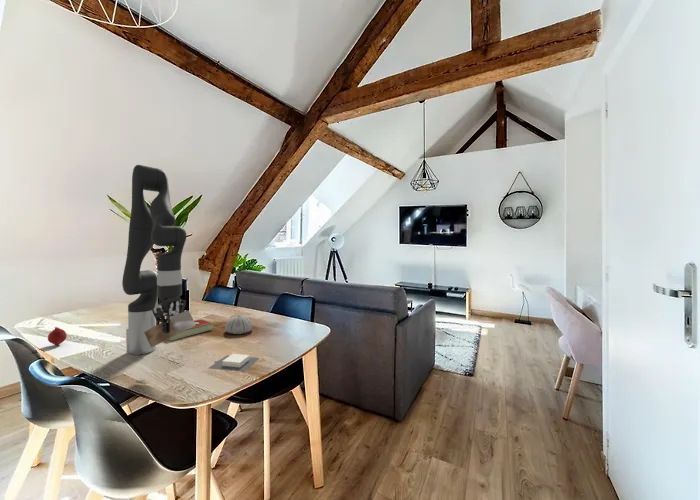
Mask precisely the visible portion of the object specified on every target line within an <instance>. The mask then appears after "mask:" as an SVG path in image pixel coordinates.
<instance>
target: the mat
mask: <svg viewBox="0 0 700 500" xmlns="http://www.w3.org/2000/svg"><path fill="white" fill-rule="evenodd" d="M229 356H230V355H228V354H227V355H225V356H224V357H222V358H221V359H219V360H218V361H217V362H215V363H214V364H212V365H211V366H209V367H208V369H213V370H223V371H232V372H233V371H235V372H241V373H242V372H243V373H245V372H246V371H247V370H248V369H249V368H251V366H253V365H254V364H255V363H256V362H258V360H259V359H260V357H252V356H250V360H249V361H247V362H246V363H245V364H244V365H242V366H241V367H229V366H222V361H223V360H224V359H226V358H227V357H229Z"/></svg>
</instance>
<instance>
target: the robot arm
mask: <svg viewBox="0 0 700 500" xmlns="http://www.w3.org/2000/svg"><path fill="white" fill-rule="evenodd" d="M131 177H132V178H131V210H130V219H129V226H128V241H127V242H128V243H127V250H126V251H127V253H126V259H125V264H124V269H123V275H122V281H121V283H122V285H121V286H122V290H123V292H124V293H125V294H126V295H128V296H135V295H139V296H138V297H136V299H135V300H133V301H131V302H130V303H129V304H128V305H127V314H128V315H127V319H128V327H127V328H126V331H125V332H126V333H125V337H126V339H125V340H126V341H125V344H126V353H127V354H129V355H133V356H139V355H145V354H149V353H152V352H153V351H155V350H156V346H157V345H156V346H153V347H151V346H150V344H149V342H148V340H147V337H146V335H145V333H144V332H145V331H147V330H149V329H151V328H153V327H154V326H156V322H157V323H162V331H163V333H167V334H168V333H170V323H169V322H170V318H169V317H171V316H173V315H176V314H180V313H183V312H185V307H186V303H187V300H184V299H181V296H183V275H182V274H183V273H182V254H183V250H184V247H185V244H186V241H187V236H188V235H187V232H186V229H185V228H184V227H182V226H178V225H177V226H176V225H175V224H176V217H175V214H174V211H173V208H172V205H171V197H170V189H169V180H168V175H167V173H166V171H165V170H163V169H162V168H157V167H152V166H147V165H143V164H136V165H134V168H133V169H132V176H131ZM144 191H148V192H149V191H150V192H158V194H157V195H156V196H155V197H154V199H152V201H151V203H150V204H149V205H150V206H149V207H148V205H147V203H146V201H145V194H144ZM154 245H155V246H156V247H173V248H172V249H171V250H170V251H168V252H162V253H159V254H158V256H157V273H155V272H154V271H153V270H150V269H148V270H141V268H142V264H143V260H144V259H145V257H146V256H147V254H149V252H150V250H152V248H153V246H154ZM158 299H159V300H158ZM157 300H158V303H157ZM156 305H157V306H156Z"/></svg>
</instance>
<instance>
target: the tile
mask: <svg viewBox="0 0 700 500" xmlns="http://www.w3.org/2000/svg"><path fill="white" fill-rule="evenodd" d="M250 357H251V356H250V355H249V354H239V353H231V355H230V356H229V357H227V358H226V359H224V360H223V361H222V366H229V367H241V366H242V365H244V364H245V363H246V362H247V361H249V360H250Z"/></svg>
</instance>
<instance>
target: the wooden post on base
mask: <svg viewBox="0 0 700 500" xmlns="http://www.w3.org/2000/svg"><path fill="white" fill-rule="evenodd" d="M179 313H180V312H179ZM169 318H170V322H169V323H170V333H168V334H167V333H163V331H162V323H161V322H159V323H158V324H157V325H156V324H155V326H154V327H153V328H151V329H149V330H147V331H145V332H144V333H145V335H146V337H147V340H148V342H149V344H150V346H151V347H153V346H157V345H160V344H162V343H164V342H167V340H169V339H170V338H171V337H173V336H175V335H177V334H179V333H181V332H183V331H185V330H187V329H189V328H191V327H194V326H195V323H194V321H195V320H194V319H193V317H192V315H191V311H190V310H186V311H183V313H180V314H176V315H173V316H171V317H169Z"/></svg>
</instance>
